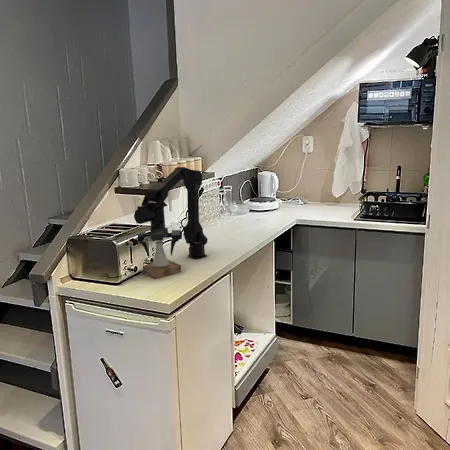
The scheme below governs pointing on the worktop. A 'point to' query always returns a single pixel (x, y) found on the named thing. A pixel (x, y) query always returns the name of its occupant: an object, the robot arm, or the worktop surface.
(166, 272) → the walnut plinth
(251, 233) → the worktop surface
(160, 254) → the flask
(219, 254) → the worktop surface
